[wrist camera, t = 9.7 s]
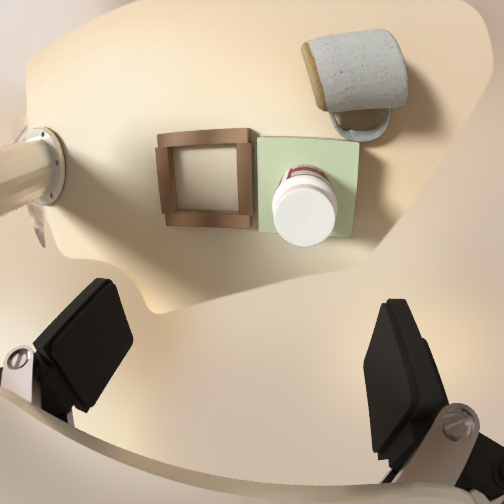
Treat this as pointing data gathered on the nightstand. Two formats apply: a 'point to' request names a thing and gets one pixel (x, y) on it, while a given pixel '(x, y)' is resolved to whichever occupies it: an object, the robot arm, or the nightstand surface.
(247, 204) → the base
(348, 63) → the ceramic mug
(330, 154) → the green square block
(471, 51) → the nightstand surface
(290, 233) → the pill bottle
